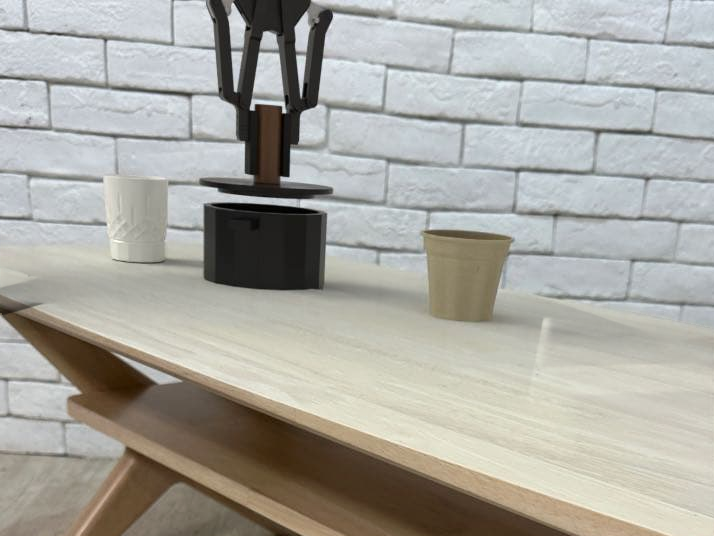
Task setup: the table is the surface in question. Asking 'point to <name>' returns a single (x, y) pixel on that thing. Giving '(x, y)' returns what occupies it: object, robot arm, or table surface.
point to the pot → (264, 246)
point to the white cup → (136, 216)
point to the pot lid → (267, 165)
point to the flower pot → (464, 272)
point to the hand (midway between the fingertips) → (266, 174)
